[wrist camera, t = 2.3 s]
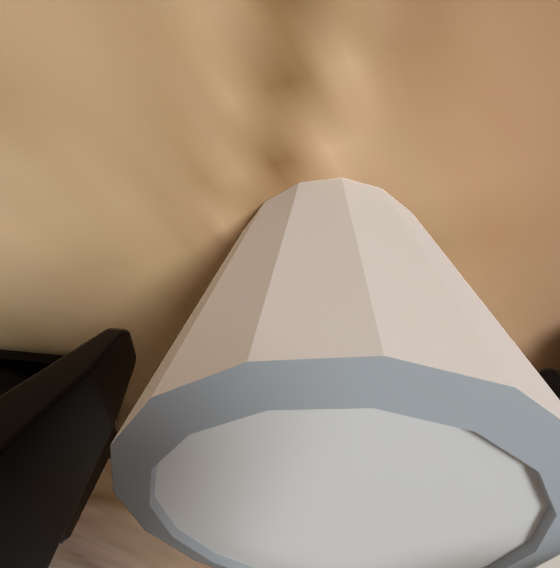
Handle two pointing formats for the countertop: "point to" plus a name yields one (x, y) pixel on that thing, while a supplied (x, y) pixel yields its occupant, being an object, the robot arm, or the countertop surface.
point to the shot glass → (343, 406)
